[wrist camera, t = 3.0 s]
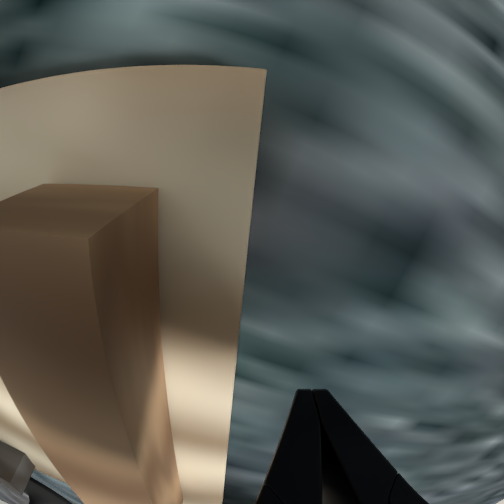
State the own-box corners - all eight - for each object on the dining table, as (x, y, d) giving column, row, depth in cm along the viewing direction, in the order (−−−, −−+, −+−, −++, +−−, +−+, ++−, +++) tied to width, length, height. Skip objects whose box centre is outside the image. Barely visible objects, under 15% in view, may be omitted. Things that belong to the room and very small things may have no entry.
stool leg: (183, 498, 14) (175, 551, 10) (126, 486, 14) (112, 536, 10) (159, 187, 7) (81, 243, 4) (46, 182, 7) (-55, 227, 4)
